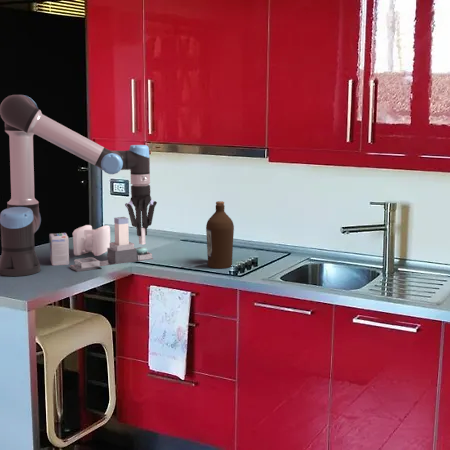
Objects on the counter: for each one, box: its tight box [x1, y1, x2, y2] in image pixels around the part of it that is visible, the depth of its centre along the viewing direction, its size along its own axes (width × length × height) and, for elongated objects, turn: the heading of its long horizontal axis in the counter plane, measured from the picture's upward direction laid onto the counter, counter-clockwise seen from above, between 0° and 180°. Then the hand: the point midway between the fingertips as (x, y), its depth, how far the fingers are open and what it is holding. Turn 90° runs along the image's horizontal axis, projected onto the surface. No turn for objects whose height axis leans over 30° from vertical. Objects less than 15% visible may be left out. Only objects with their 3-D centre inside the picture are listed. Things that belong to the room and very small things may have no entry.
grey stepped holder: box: [69, 241, 154, 273], centre depth 269 cm, size 32×8×8 cm, turn 123°
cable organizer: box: [72, 224, 111, 257], centre depth 286 cm, size 15×11×12 cm
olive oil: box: [205, 200, 235, 270], centre depth 266 cm, size 11×11×25 cm
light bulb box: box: [48, 232, 70, 266], centre depth 273 cm, size 11×7×11 cm, turn 18°
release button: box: [135, 246, 148, 253], centre depth 276 cm, size 4×4×2 cm
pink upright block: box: [113, 216, 130, 245], centre depth 270 cm, size 4×5×12 cm
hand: (142, 243), depth 276 cm, fingers closed
